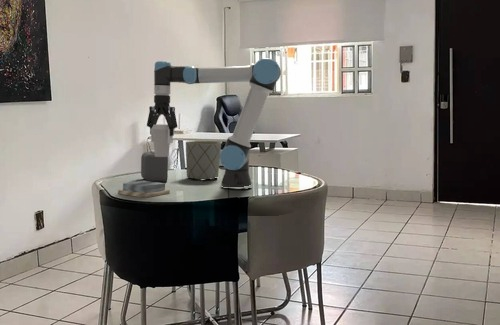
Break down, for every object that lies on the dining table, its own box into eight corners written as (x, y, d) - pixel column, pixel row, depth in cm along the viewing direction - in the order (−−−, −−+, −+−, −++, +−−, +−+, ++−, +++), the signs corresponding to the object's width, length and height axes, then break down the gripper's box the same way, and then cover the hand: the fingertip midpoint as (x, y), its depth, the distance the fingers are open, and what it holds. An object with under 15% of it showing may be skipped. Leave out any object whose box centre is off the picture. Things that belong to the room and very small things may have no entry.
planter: (177, 178, 308) (178, 141, 306) (202, 175, 322) (203, 140, 320) (202, 182, 295) (203, 144, 293) (227, 179, 310) (228, 143, 308)
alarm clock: (167, 182, 290) (168, 152, 288) (145, 182, 286) (145, 152, 284) (161, 178, 305) (161, 149, 304) (140, 178, 301) (140, 149, 300)
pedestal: (169, 193, 256) (169, 183, 255) (145, 197, 242) (145, 187, 241) (142, 189, 264) (142, 180, 263) (118, 193, 250) (118, 183, 250)
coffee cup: (154, 157, 263) (154, 125, 262) (149, 155, 272) (149, 124, 271) (174, 157, 267) (174, 125, 266) (168, 155, 276) (168, 124, 274)
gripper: (139, 94, 269) (138, 141, 272) (175, 94, 258) (175, 144, 260) (149, 94, 276) (149, 140, 278) (185, 95, 264) (185, 143, 267)
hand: (161, 142), depth 269 cm, fingers closed on coffee cup, 9 cm apart
